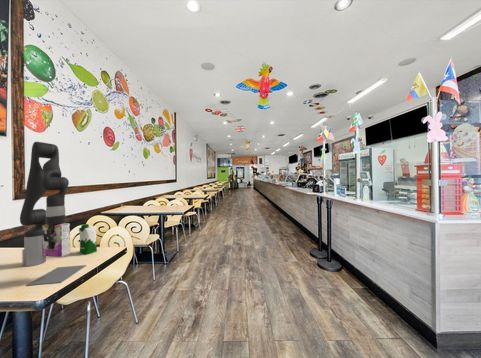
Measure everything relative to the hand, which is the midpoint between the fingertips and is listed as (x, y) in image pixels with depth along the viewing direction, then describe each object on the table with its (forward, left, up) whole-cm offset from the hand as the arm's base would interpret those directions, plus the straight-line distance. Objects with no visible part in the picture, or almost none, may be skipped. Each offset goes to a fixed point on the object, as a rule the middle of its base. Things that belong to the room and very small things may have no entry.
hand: (56, 246), depth 103 cm
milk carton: (-5, +37, -16) cm, 40 cm away
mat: (0, +2, -16) cm, 16 cm away
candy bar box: (0, 0, -5) cm, 5 cm away
